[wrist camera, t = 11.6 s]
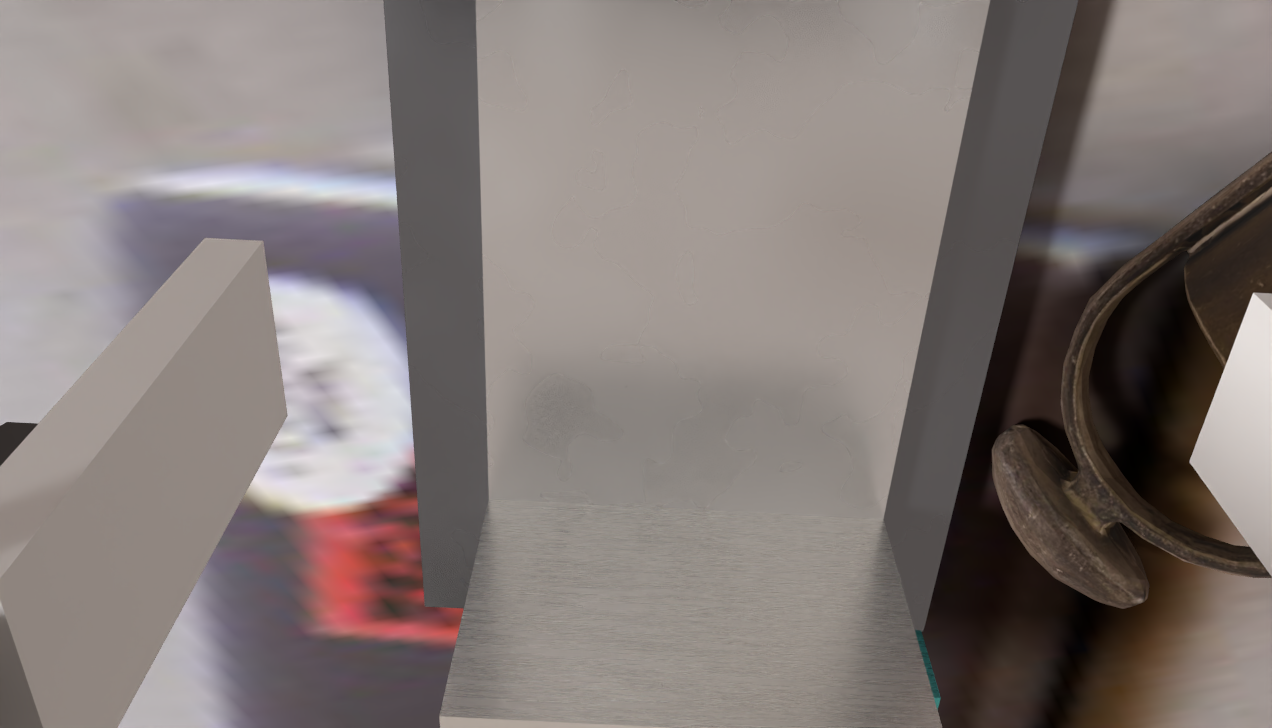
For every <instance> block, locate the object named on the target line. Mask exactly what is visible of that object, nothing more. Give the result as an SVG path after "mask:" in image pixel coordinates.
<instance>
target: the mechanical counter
mask: <svg viewBox="0 0 1272 728" xmlns="http://www.w3.org/2000/svg"><path fill="white" fill-rule="evenodd" d="M1183 251H1188V254H1189V259H1188V261H1187V263H1186V265H1185V267H1184V277H1185V289H1186V295H1187V299H1188V302H1189V305H1190V307H1191V309H1192V311H1193V314H1194V316H1195V318H1196V320H1197V322H1198V324H1199V326H1200V329H1201V331H1202V332H1203V334H1204V336H1205V337H1206V339H1207V341H1208V343H1209V344H1210V346H1211V348H1212V350H1213V351H1214V353H1215V355H1216V357H1217V358H1218V360H1219V362H1220V363H1221V365H1222V367H1223V368H1224V369H1225V366H1226V363H1227V361H1228V358H1229V355H1230V353H1231V350H1232V347H1233V345H1234V342H1235V340H1236V337H1237V334H1238V332H1239V329H1240V326H1241V324H1242V321H1243V318H1244V316H1245V313H1246V310H1247V308H1248V305H1249V303H1250V300H1251V297H1252V295H1253V293H1270V294H1272V152H1271V153H1269V154H1268V155H1267V156H1266V157H1264V158H1263V159H1262V160H1260V161H1259V162H1258V163H1256V164H1255V165H1254V166H1252V167H1251V168H1250V169H1248V170H1247V171H1246V172H1244V173H1243V174H1242V175H1241V176H1239V177H1238V178H1237V179H1235V180H1234V181H1233V182H1231V183H1230V184H1229V185H1227V186H1226V187H1225V188H1223V189H1222V190H1221V191H1219V192H1218V193H1217V194H1216V195H1214V196H1213V197H1212V198H1210V199H1209V200H1208V201H1206V202H1205V203H1204V204H1203V205H1201V206H1200V207H1199V208H1197V209H1196V210H1195V211H1194V212H1192V213H1191V214H1190V215H1188V216H1187V217H1186V218H1185V219H1183V220H1182V221H1181V222H1179V223H1178V224H1177V225H1176V226H1174V227H1173V228H1172V229H1170V230H1169V231H1168V232H1167V233H1165V234H1164V235H1163V236H1161V237H1160V238H1159V239H1157V240H1156V241H1155V242H1154V243H1152V244H1151V245H1150V246H1148V247H1147V248H1146V249H1144V250H1143V251H1142V252H1140V253H1139V254H1138V255H1136V256H1135V257H1134V258H1132V259H1131V260H1130V261H1129V262H1127V263H1126V264H1125V265H1123V266H1122V267H1121V268H1120V269H1119V270H1118V271H1117V272H1116V273H1115V274H1114V275H1113V276H1112V277H1111V278H1110V279H1109V280H1108V281H1107V282H1106V283H1105V284H1104V285H1103V286H1102V287H1101V288H1100V289H1099V290H1098V291H1097V292H1096V293H1095V294H1094V295H1093V296H1092V297H1091V298H1090V299H1089V301H1088V303H1087V305H1086V307H1085V310H1084V312H1083V314H1082V316H1081V318H1080V320H1079V322H1078V324H1077V326H1076V329H1075V331H1074V334H1073V337H1072V340H1071V343H1070V346H1069V349H1068V352H1067V355H1066V358H1065V361H1064V364H1063V375H1062V387H1061V408H1062V414H1063V420H1064V427H1065V431H1066V434H1067V437H1068V440H1069V442H1070V445H1071V448H1072V450H1073V453H1074V456H1075V459H1076V461H1077V464H1078V469H1077V468H1076V467H1075V466H1074V465H1073V464H1072V463H1071V462H1070V461H1069V460H1068V459H1067V458H1066V457H1065V456H1064V455H1063V454H1062V453H1061V452H1060V451H1059V450H1058V449H1057V448H1056V447H1055V446H1054V445H1052V444H1051V443H1050V442H1049V441H1048V440H1046V439H1045V438H1044V437H1043V436H1042V435H1040V434H1039V433H1038V432H1036V431H1035V430H1033V429H1031V428H1029V427H1027V426H1026V425H1024V424H1019V425H1012V426H1011V427H1009V428H1008V429H1007V430H1006V431H1004V432H1003V433H1002V434H1001V435H999V436H998V438H997V439H996V441H995V443H994V446H993V448H992V477H993V480H994V484H995V487H996V491H997V494H998V497H999V500H1000V502H1001V505H1002V508H1003V510H1004V512H1005V514H1006V517H1007V519H1008V521H1009V523H1010V525H1011V527H1012V529H1013V530H1014V532H1015V533H1016V535H1017V536H1018V538H1019V539H1020V541H1021V542H1022V543H1023V545H1024V546H1025V548H1026V549H1027V551H1028V552H1029V554H1030V555H1031V556H1032V557H1033V558H1034V559H1036V560H1037V561H1038V562H1039V563H1040V564H1041V565H1042V566H1043V567H1044V568H1045V569H1046V570H1047V571H1048V572H1049V573H1050V574H1051V575H1052V576H1053V577H1054V578H1055V579H1057V580H1059V581H1061V582H1063V583H1064V584H1066V585H1068V586H1070V587H1072V588H1073V589H1075V590H1077V591H1079V592H1081V593H1082V594H1084V595H1086V596H1088V597H1090V598H1091V599H1094V600H1096V601H1098V602H1100V603H1103V604H1107V605H1111V606H1114V607H1118V608H1122V609H1124V608H1128V607H1132V606H1135V605H1137V604H1140V603H1143V602H1144V601H1145V600H1146V599H1147V598H1148V593H1149V586H1150V585H1149V582H1148V579H1147V577H1146V574H1145V571H1144V568H1143V565H1142V562H1141V559H1140V557H1139V555H1138V553H1137V552H1136V550H1135V548H1134V547H1133V545H1132V543H1131V541H1130V540H1129V538H1128V536H1127V535H1126V533H1125V531H1124V530H1123V528H1122V526H1121V525H1120V523H1123V524H1124V525H1125V526H1127V527H1128V528H1129V529H1131V530H1132V531H1133V532H1135V533H1136V534H1137V535H1139V536H1140V537H1141V538H1143V539H1144V540H1146V541H1148V542H1150V543H1152V544H1153V545H1155V546H1157V547H1159V548H1161V549H1163V550H1164V551H1166V552H1168V553H1170V554H1172V555H1173V556H1175V557H1177V558H1179V559H1181V560H1182V561H1184V562H1188V563H1191V564H1195V565H1198V566H1202V567H1206V568H1209V569H1213V570H1216V571H1220V572H1223V573H1227V574H1231V575H1238V576H1245V577H1253V578H1272V576H1271V575H1270V574H1269V572H1268V571H1267V569H1266V568H1265V567H1264V565H1263V564H1262V563H1261V561H1260V560H1259V558H1258V557H1257V556H1256V554H1255V553H1254V551H1253V550H1252V549H1251V547H1245V546H1234V545H1231V544H1228V543H1225V542H1222V541H1219V540H1216V539H1213V538H1210V537H1206V536H1204V535H1201V534H1199V533H1197V532H1195V531H1193V530H1190V529H1188V528H1186V527H1184V526H1182V525H1179V524H1177V523H1175V522H1173V521H1171V520H1170V519H1169V518H1167V517H1166V516H1165V515H1163V514H1162V513H1161V512H1160V511H1158V510H1157V509H1156V508H1154V507H1153V506H1152V505H1151V504H1149V503H1148V502H1147V501H1145V500H1144V499H1143V498H1142V497H1140V495H1139V494H1138V493H1137V492H1136V491H1135V489H1134V488H1133V487H1132V486H1131V485H1130V483H1129V482H1128V481H1127V479H1126V478H1125V477H1124V475H1123V474H1122V473H1121V471H1120V470H1119V468H1118V467H1117V466H1116V464H1115V463H1114V461H1113V460H1112V458H1111V457H1110V455H1109V454H1108V452H1107V451H1106V449H1105V448H1104V446H1103V444H1102V442H1101V440H1100V437H1099V435H1098V432H1097V430H1096V428H1095V425H1094V423H1093V420H1092V413H1091V407H1090V401H1089V379H1088V378H1089V374H1090V369H1091V365H1092V360H1093V356H1094V351H1095V347H1096V345H1097V343H1098V340H1099V338H1100V336H1101V334H1102V331H1103V329H1104V327H1105V324H1106V322H1107V320H1108V318H1109V317H1110V315H1111V314H1112V313H1113V311H1114V310H1115V308H1116V307H1117V305H1118V304H1119V303H1120V301H1121V300H1122V298H1123V297H1124V296H1125V295H1127V294H1128V293H1129V292H1130V291H1131V290H1132V289H1134V288H1135V287H1136V286H1137V285H1138V284H1139V283H1141V282H1142V281H1143V280H1144V279H1146V278H1147V277H1148V276H1150V275H1151V274H1152V273H1154V272H1155V271H1157V270H1158V269H1159V268H1161V267H1162V266H1163V265H1165V264H1166V263H1168V262H1169V261H1170V260H1172V259H1173V258H1174V257H1176V256H1177V255H1179V254H1180V253H1181V252H1183ZM1119 522H1120V523H1119Z"/></svg>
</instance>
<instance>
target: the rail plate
mask: <svg viewBox="0 0 1272 728" xmlns="http://www.w3.org/2000/svg"><path fill="white" fill-rule="evenodd" d="M1077 4H1078V0H384V14H385V29H386V44H387V58H388V73H389V88H390V102H391V117H392V132H393V146H394V161H395V176H396V190H397V205H398V219H399V234H400V249H401V263H402V278H403V293H404V307H405V322H406V337H407V351H408V366H409V381H410V395H411V410H412V425H413V439H414V454H415V469H416V483H417V498H418V513H419V527H420V542H421V556H422V571H423V586H424V600H425V606H427V607H447V608H464V611H463V615H462V619H461V624H460V628H459V633H458V637H457V641H456V646H455V650H454V655H453V659H452V663H451V668H450V672H449V677H448V681H447V685H446V690H445V694H444V698H443V703H442V707H441V712H440V716H439V717H440V728H942V725H941V722H940V718H939V714H938V711H937V709H938V706H939V702H940V694H939V691H938V688H937V684H936V681H935V677H934V674H933V670H932V667H931V663H930V660H929V656H928V653H927V649H926V646H925V643H924V639H923V636H922V632H921V631H924V627H925V623H926V619H927V615H928V610H929V606H930V602H931V598H932V594H933V590H934V586H935V582H936V578H937V574H938V570H939V566H940V562H941V558H942V553H943V549H944V545H945V541H946V537H947V533H948V529H949V525H950V521H951V517H952V513H953V509H954V505H955V501H956V496H957V492H958V488H959V484H960V480H961V476H962V472H963V468H964V464H965V460H966V456H967V452H968V448H969V444H970V439H971V435H972V431H973V427H974V423H975V419H976V415H977V411H978V407H979V403H980V399H981V395H982V391H983V387H984V382H985V378H986V374H987V370H988V366H989V362H990V358H991V354H992V350H993V346H994V342H995V338H996V334H997V330H998V325H999V321H1000V317H1001V313H1002V309H1003V305H1004V301H1005V297H1006V293H1007V289H1008V285H1009V281H1010V277H1011V273H1012V269H1013V264H1014V260H1015V256H1016V252H1017V248H1018V244H1019V240H1020V236H1021V232H1022V228H1023V224H1024V220H1025V216H1026V212H1027V207H1028V203H1029V199H1030V195H1031V191H1032V187H1033V183H1034V179H1035V175H1036V171H1037V167H1038V163H1039V159H1040V155H1041V150H1042V146H1043V142H1044V138H1045V134H1046V130H1047V126H1048V122H1049V118H1050V114H1051V110H1052V106H1053V102H1054V98H1055V93H1056V89H1057V85H1058V81H1059V77H1060V73H1061V69H1062V65H1063V61H1064V57H1065V53H1066V49H1067V45H1068V41H1069V36H1070V32H1071V28H1072V24H1073V20H1074V16H1075V12H1076V8H1077Z"/></svg>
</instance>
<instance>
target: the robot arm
mask: <svg viewBox="0 0 1272 728" xmlns="http://www.w3.org/2000/svg"><path fill="white" fill-rule="evenodd" d="M286 417H287V408H286V401H285V394H284V387H283V380H282V373H281V365H280V358H279V351H278V344H277V337H276V330H275V323H274V315H273V308H272V301H271V294H270V287H269V280H268V273H267V265H266V258H265V251H264V244H263V241H253V240H234V239H215V238H205V239H204V240H203V241H202V242H201V243H200V244H199V245H198V246H197V247H196V249H195V250H194V251H193V252H192V253H191V254H190V255H189V256H188V258H187V259H186V260H185V261H184V262H183V263H182V264H181V265H180V266H179V268H178V269H177V270H176V271H175V272H174V273H173V274H172V275H171V276H170V278H169V279H168V280H167V281H166V282H165V283H164V284H163V285H162V286H161V288H160V289H159V290H158V291H157V292H156V293H155V294H154V295H153V297H152V298H151V299H150V300H149V301H148V302H147V303H146V304H145V305H144V307H143V308H142V309H141V310H140V311H139V312H138V313H137V314H136V315H135V317H134V318H133V319H132V320H131V321H130V322H129V323H128V324H127V326H126V327H125V328H124V329H123V330H122V331H121V332H120V333H119V334H118V336H117V337H116V338H115V339H114V340H113V341H112V342H111V343H110V344H109V346H108V347H107V348H106V349H105V350H104V351H103V352H102V353H101V355H100V356H99V357H98V358H97V359H96V360H95V361H94V362H93V363H92V365H91V366H90V367H89V368H88V369H87V370H86V371H85V372H84V373H83V375H82V376H81V377H80V378H79V379H78V380H77V381H76V382H75V384H74V385H73V386H72V387H71V388H70V389H69V390H68V391H67V392H66V394H65V395H64V396H63V397H62V398H61V399H60V400H59V401H58V402H57V404H56V405H55V406H54V407H53V408H52V409H51V410H50V411H49V413H48V414H47V415H46V416H45V417H44V418H43V419H42V420H41V421H40V423H39V424H34V423H14V422H6V423H5V424H3V425H1V426H0V728H117V727H118V726H119V724H120V722H121V720H122V718H123V716H124V715H125V713H126V711H127V709H128V707H129V705H130V704H131V702H132V700H133V698H134V696H135V694H136V693H137V691H138V689H139V687H140V685H141V683H142V682H143V680H144V678H145V676H146V674H147V672H148V671H149V669H150V667H151V665H152V663H153V661H154V660H155V658H156V656H157V654H158V652H159V650H160V649H161V647H162V645H163V643H164V641H165V639H166V638H167V636H168V634H169V632H170V630H171V628H172V627H173V625H174V623H175V621H176V619H177V617H178V616H179V614H180V612H181V610H182V608H183V606H184V605H185V603H186V601H187V599H188V597H189V595H190V594H191V592H192V590H193V588H194V586H195V584H196V583H197V581H198V579H199V577H200V575H201V573H202V572H203V570H204V568H205V566H206V564H207V562H208V561H209V559H210V557H211V555H212V553H213V551H214V550H215V548H216V546H217V544H218V542H219V540H220V539H221V537H222V535H223V533H224V531H225V529H226V528H227V526H228V524H229V522H230V520H231V518H232V517H233V515H234V513H235V511H236V509H237V507H238V506H239V504H240V502H241V500H242V498H243V496H244V495H245V493H246V491H247V489H248V487H249V485H250V483H251V482H252V480H253V478H254V476H255V474H256V472H257V471H258V469H259V467H260V465H261V463H262V461H263V460H264V458H265V456H266V454H267V452H268V450H269V449H270V447H271V445H272V443H273V441H274V439H275V438H276V436H277V434H278V432H279V430H280V428H281V427H282V425H283V423H284V421H285V419H286ZM1189 462H1190V463H1191V465H1192V466H1193V468H1194V469H1195V470H1196V472H1197V473H1198V475H1199V476H1200V477H1201V479H1202V480H1203V482H1204V483H1205V484H1206V486H1207V487H1208V489H1209V490H1210V491H1211V493H1212V494H1213V496H1214V497H1215V498H1216V500H1217V501H1218V503H1219V504H1220V505H1221V507H1222V508H1223V510H1224V511H1225V512H1226V514H1227V515H1228V516H1229V518H1230V519H1231V521H1232V522H1233V523H1234V525H1235V526H1236V528H1237V529H1238V530H1239V532H1240V533H1241V535H1242V536H1243V537H1244V539H1245V540H1246V542H1247V543H1248V544H1249V546H1250V547H1251V549H1252V550H1253V551H1254V553H1255V554H1256V556H1257V557H1258V558H1259V560H1260V561H1261V563H1262V564H1263V565H1264V567H1265V568H1266V569H1267V571H1268V572H1269V574H1270V575H1271V576H1272V294H1270V293H1253V295H1252V297H1251V300H1250V303H1249V305H1248V308H1247V310H1246V313H1245V316H1244V318H1243V321H1242V324H1241V326H1240V329H1239V332H1238V334H1237V337H1236V340H1235V342H1234V345H1233V347H1232V350H1231V353H1230V355H1229V358H1228V361H1227V363H1226V366H1225V369H1224V371H1223V374H1222V377H1221V379H1220V382H1219V385H1218V387H1217V390H1216V392H1215V395H1214V398H1213V400H1212V403H1211V406H1210V408H1209V411H1208V414H1207V416H1206V419H1205V422H1204V424H1203V427H1202V429H1201V432H1200V435H1199V437H1198V440H1197V443H1196V445H1195V448H1194V451H1193V453H1192V456H1191V459H1190V461H1189Z"/></svg>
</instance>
